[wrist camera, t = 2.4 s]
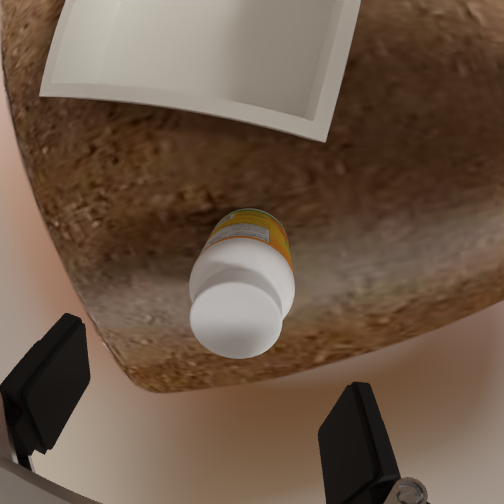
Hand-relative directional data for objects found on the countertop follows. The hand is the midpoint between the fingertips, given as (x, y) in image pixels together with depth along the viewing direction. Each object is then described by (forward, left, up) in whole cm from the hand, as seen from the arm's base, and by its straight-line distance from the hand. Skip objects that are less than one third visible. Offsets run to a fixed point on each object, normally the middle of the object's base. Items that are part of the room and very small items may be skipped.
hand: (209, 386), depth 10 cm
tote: (+6, -18, -13) cm, 23 cm away
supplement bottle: (0, 0, -13) cm, 13 cm away
